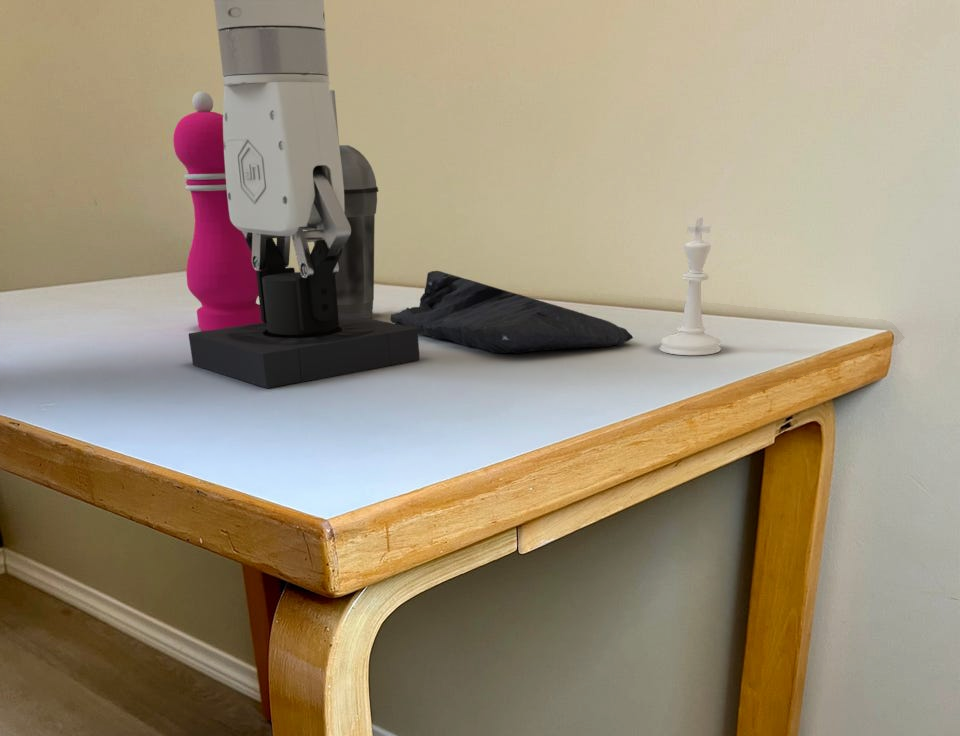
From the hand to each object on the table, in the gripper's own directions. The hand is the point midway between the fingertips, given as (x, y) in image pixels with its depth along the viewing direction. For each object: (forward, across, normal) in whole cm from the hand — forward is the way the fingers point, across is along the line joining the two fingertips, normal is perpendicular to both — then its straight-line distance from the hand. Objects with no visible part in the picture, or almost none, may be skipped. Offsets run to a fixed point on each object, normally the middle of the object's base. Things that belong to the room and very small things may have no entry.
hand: (299, 323), depth 80 cm
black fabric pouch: (+3, +3, +19) cm, 20 cm away
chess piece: (+3, +19, +25) cm, 32 cm away
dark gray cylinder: (0, 0, 0) cm, 0 cm away
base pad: (+3, 0, 0) cm, 3 cm away
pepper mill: (+3, -20, +4) cm, 21 cm away
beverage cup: (+3, -16, +15) cm, 22 cm away
